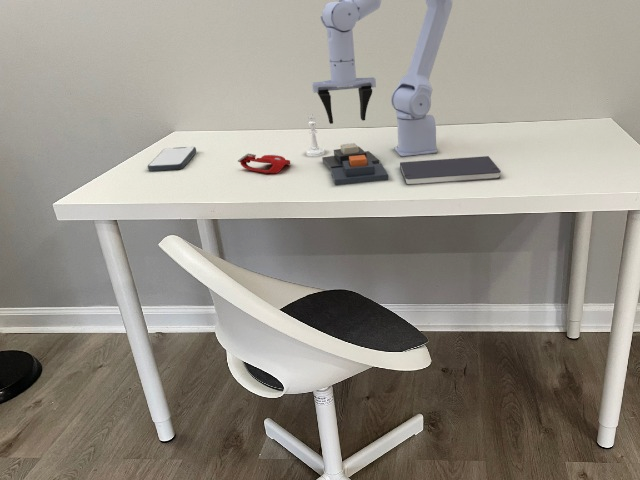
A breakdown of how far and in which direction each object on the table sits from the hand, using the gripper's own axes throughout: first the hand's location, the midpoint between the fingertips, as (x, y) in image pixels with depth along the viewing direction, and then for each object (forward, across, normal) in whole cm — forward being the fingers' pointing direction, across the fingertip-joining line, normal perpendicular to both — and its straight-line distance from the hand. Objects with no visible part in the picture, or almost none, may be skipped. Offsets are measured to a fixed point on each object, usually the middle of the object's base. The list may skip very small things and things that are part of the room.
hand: (347, 121), depth 147 cm
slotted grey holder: (+10, 0, +11) cm, 15 cm away
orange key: (+8, 0, +11) cm, 13 cm away
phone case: (+11, +43, -20) cm, 49 cm away
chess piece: (+11, +7, -13) cm, 18 cm away
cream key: (+8, 0, 0) cm, 8 cm away
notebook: (+11, -20, +16) cm, 28 cm away
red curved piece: (+11, +20, -4) cm, 23 cm away
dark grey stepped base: (+10, 0, 0) cm, 10 cm away
